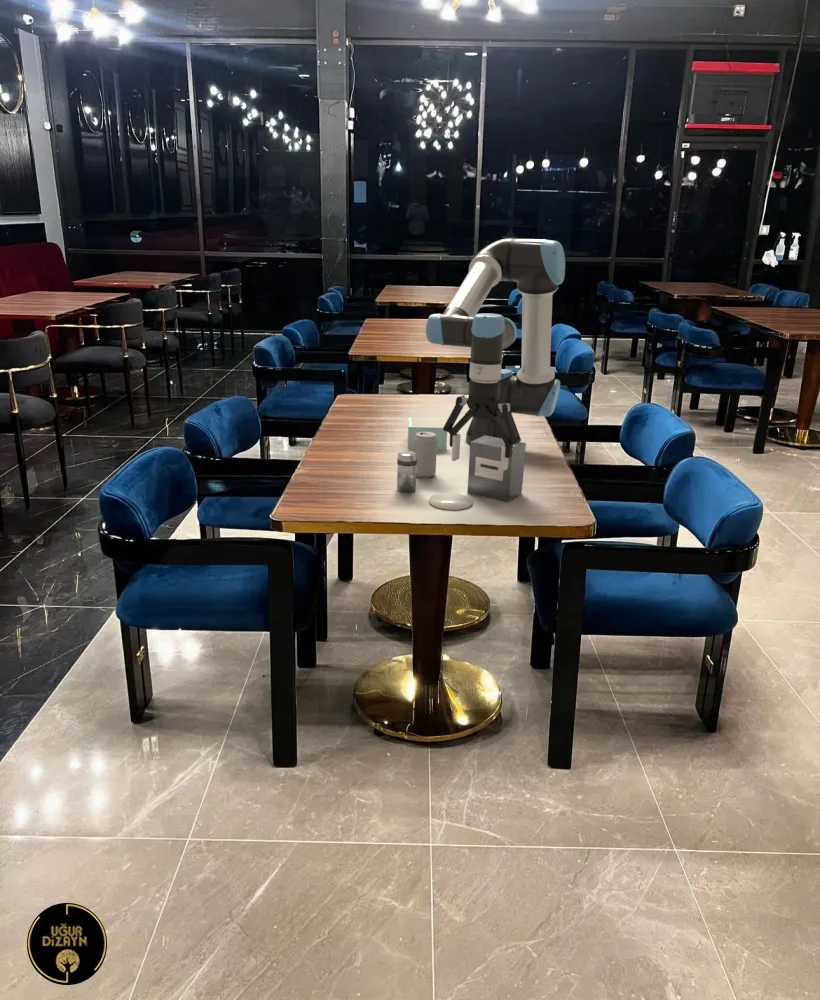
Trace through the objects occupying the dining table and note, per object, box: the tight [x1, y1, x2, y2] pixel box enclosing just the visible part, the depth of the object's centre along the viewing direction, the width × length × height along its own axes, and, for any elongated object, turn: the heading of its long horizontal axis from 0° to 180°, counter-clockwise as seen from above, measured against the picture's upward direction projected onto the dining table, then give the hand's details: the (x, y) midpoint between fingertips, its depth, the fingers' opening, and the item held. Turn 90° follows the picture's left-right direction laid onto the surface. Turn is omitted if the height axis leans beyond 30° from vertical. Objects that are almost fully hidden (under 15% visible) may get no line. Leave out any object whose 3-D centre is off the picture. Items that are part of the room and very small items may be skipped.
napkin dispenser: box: [466, 435, 527, 503], centre depth 203 cm, size 8×12×14 cm
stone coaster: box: [428, 492, 473, 511], centre depth 199 cm, size 11×11×1 cm
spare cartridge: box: [396, 451, 417, 495], centre depth 205 cm, size 5×5×10 cm
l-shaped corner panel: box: [407, 417, 448, 450], centre depth 248 cm, size 12×12×8 cm
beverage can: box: [413, 431, 438, 479], centre depth 217 cm, size 6×6×12 cm
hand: (479, 464), depth 194 cm, fingers open, 13 cm apart
